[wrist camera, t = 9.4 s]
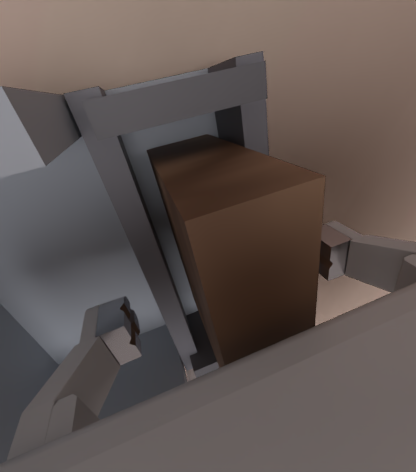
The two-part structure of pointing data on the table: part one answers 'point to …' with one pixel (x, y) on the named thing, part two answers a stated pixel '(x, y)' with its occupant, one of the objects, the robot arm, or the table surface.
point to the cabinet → (106, 224)
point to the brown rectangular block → (243, 240)
